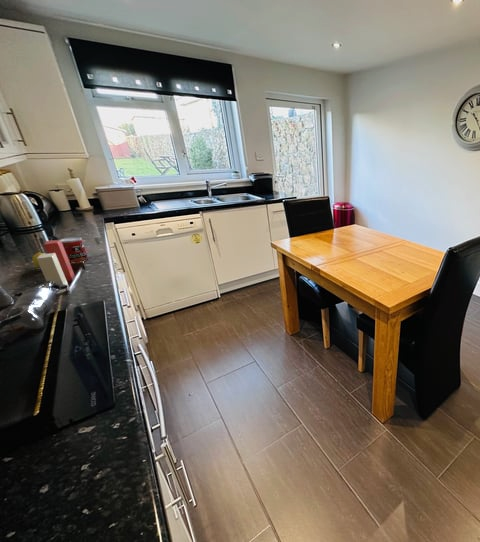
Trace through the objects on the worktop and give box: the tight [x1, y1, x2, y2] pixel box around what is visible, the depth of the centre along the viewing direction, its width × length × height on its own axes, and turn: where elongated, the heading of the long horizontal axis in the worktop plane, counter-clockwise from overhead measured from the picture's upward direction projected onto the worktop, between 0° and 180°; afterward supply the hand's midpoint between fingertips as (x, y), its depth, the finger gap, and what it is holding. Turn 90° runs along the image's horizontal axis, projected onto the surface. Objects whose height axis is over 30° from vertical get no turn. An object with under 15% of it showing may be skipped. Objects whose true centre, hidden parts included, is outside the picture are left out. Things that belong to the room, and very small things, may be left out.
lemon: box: [32, 252, 45, 269], centre depth 125 cm, size 6×6×8 cm
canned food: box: [60, 236, 89, 262], centre depth 136 cm, size 8×8×11 cm
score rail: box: [59, 261, 87, 296], centre depth 113 cm, size 8×30×4 cm, turn 35°
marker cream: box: [37, 253, 70, 288], centre depth 104 cm, size 4×5×14 cm
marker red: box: [43, 239, 75, 281], centre depth 112 cm, size 4×5×16 cm
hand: (49, 283), depth 99 cm, fingers closed
